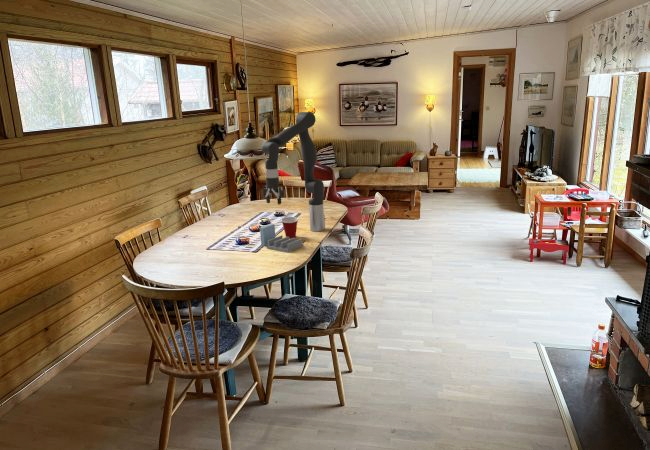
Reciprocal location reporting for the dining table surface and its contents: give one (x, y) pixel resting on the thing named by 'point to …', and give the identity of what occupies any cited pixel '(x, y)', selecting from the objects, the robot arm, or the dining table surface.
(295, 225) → the plastic cup
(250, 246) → the dining table surface
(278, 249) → the dish rack
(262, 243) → the rectangular block
